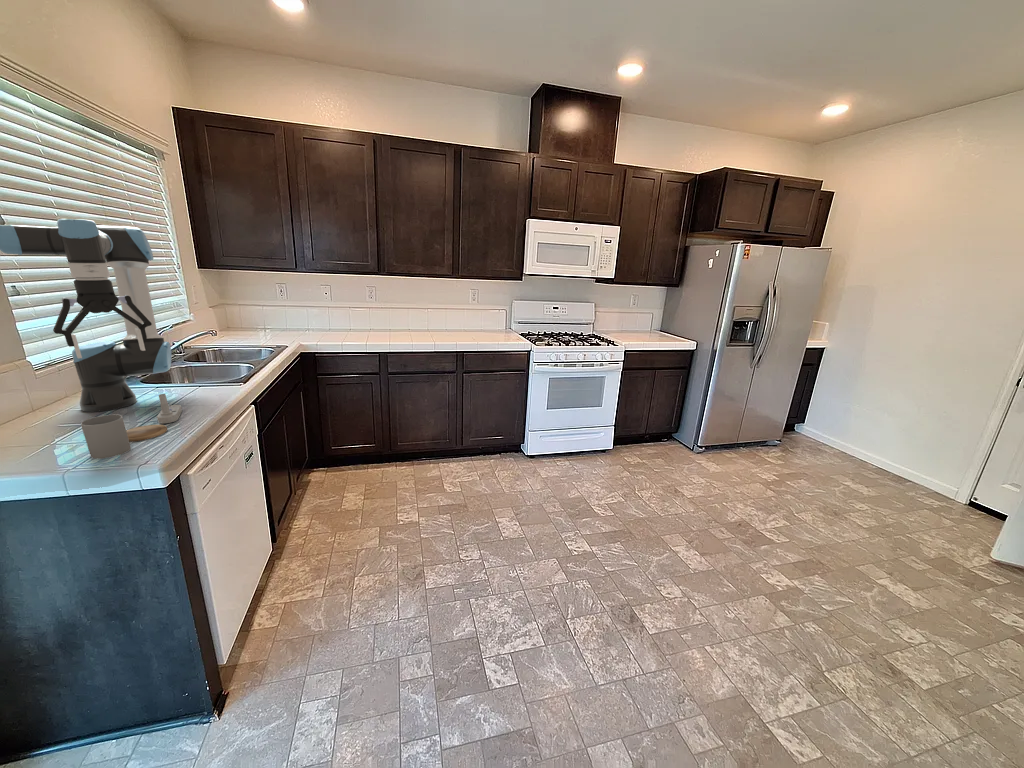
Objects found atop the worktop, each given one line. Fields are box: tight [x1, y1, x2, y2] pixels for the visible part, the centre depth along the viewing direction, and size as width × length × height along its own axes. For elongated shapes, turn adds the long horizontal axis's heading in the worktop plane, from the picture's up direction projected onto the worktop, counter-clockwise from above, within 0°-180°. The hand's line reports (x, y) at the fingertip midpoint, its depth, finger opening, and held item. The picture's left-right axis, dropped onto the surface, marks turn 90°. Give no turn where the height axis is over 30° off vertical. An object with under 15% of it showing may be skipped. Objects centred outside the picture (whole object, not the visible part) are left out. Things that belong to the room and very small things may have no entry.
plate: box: [126, 423, 168, 443], centre depth 129 cm, size 12×12×1 cm
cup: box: [80, 413, 132, 460], centre depth 116 cm, size 8×8×10 cm
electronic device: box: [156, 393, 183, 425], centre depth 142 cm, size 5×10×15 cm
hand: (112, 353), depth 120 cm, fingers open, 13 cm apart
